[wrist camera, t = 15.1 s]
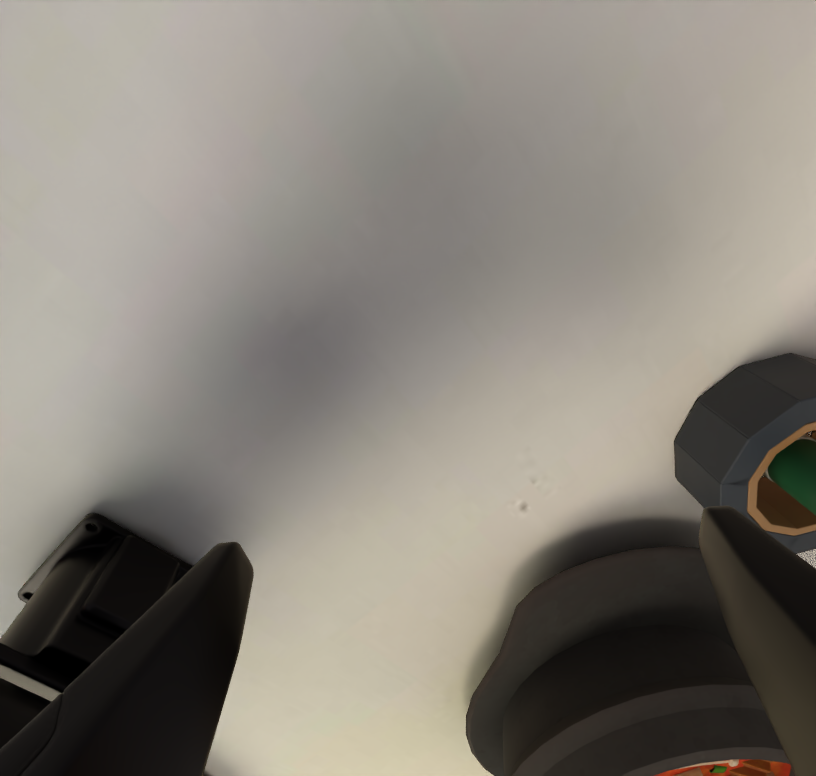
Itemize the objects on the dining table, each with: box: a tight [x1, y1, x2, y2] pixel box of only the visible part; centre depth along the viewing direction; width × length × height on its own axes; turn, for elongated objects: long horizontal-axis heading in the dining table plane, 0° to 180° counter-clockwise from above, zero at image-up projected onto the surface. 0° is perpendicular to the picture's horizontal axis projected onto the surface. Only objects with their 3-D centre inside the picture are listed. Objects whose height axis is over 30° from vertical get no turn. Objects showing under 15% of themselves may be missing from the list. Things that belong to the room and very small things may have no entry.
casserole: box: [466, 546, 795, 776], centre depth 28 cm, size 25×19×8 cm
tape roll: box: [674, 353, 816, 554], centre depth 23 cm, size 8×8×4 cm
